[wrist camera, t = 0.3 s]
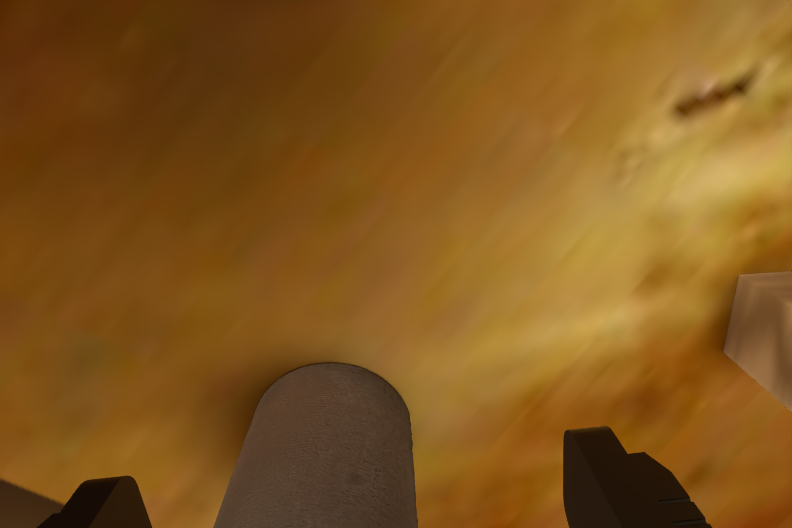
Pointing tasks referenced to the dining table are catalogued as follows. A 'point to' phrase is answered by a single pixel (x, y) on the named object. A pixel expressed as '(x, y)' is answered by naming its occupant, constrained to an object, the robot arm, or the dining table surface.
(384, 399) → the pillar candle
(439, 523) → the dining table surface
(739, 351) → the maple block
